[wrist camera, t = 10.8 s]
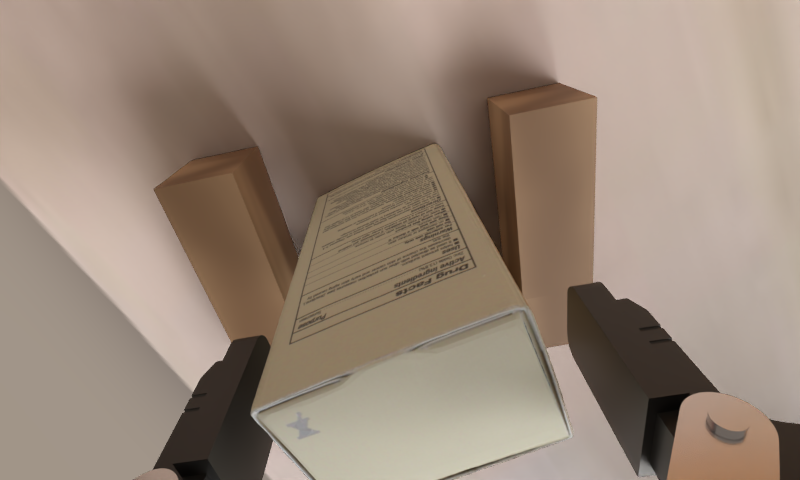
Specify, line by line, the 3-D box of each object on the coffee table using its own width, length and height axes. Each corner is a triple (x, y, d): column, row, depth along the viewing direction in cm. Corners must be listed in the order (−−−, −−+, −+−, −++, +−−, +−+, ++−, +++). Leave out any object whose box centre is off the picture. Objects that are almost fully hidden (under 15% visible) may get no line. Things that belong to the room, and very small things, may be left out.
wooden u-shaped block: (559, 82, 17) (596, 97, 14) (562, 295, 23) (591, 339, 19) (191, 160, 18) (153, 189, 15) (275, 347, 24) (259, 397, 20)
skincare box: (357, 267, 21) (331, 525, 10) (314, 195, 19) (229, 419, 9) (477, 217, 20) (584, 448, 9) (444, 136, 18) (531, 308, 8)
